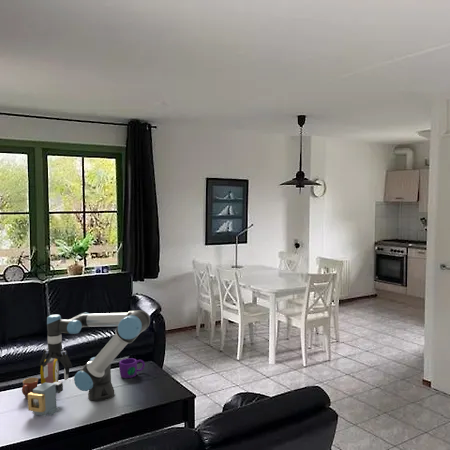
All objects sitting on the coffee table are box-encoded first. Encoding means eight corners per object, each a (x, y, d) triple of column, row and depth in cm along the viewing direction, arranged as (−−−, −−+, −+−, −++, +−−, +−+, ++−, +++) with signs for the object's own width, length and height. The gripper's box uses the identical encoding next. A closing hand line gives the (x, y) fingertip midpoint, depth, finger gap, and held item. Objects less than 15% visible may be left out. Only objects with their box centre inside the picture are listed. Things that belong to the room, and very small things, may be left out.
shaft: (63, 390, 275) (62, 382, 274) (39, 406, 255) (38, 397, 254) (55, 389, 276) (55, 381, 276) (31, 405, 256) (31, 396, 256)
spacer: (45, 410, 256) (44, 394, 256) (42, 412, 254) (41, 395, 253) (31, 408, 259) (30, 392, 258) (28, 410, 257) (27, 394, 256)
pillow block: (60, 408, 266) (59, 383, 266) (49, 416, 257) (47, 391, 256) (42, 406, 270) (40, 381, 269) (30, 414, 260) (29, 389, 259)
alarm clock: (55, 391, 290) (54, 362, 288) (41, 392, 288) (39, 363, 287) (59, 381, 304) (58, 353, 303) (46, 383, 303) (44, 354, 302)
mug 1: (29, 393, 287) (28, 377, 287) (42, 394, 286) (41, 377, 285) (16, 402, 276) (15, 385, 275) (30, 403, 274) (29, 385, 273)
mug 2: (123, 380, 304) (123, 365, 303) (117, 375, 313) (116, 360, 312) (148, 374, 314) (148, 359, 313) (141, 369, 323) (140, 354, 322)
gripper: (77, 341, 272) (78, 378, 273) (40, 338, 279) (41, 373, 280) (69, 345, 264) (71, 383, 266) (31, 342, 271) (33, 378, 273)
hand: (56, 378), depth 273 cm, fingers open, 13 cm apart
